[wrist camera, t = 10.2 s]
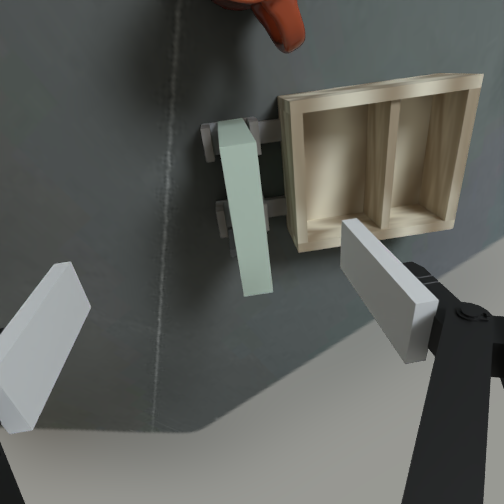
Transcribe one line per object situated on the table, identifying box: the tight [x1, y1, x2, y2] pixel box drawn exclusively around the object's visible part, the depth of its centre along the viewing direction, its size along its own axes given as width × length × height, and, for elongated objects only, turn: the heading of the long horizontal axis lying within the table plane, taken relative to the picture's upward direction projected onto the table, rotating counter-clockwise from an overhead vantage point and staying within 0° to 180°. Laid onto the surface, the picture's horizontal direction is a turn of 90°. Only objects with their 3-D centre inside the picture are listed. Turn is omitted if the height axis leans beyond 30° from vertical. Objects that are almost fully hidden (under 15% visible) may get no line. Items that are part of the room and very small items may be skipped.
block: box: [217, 118, 273, 297], centre depth 29 cm, size 3×12×12 cm, turn 7°
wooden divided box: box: [200, 73, 484, 253], centre depth 33 cm, size 24×14×6 cm, turn 97°
